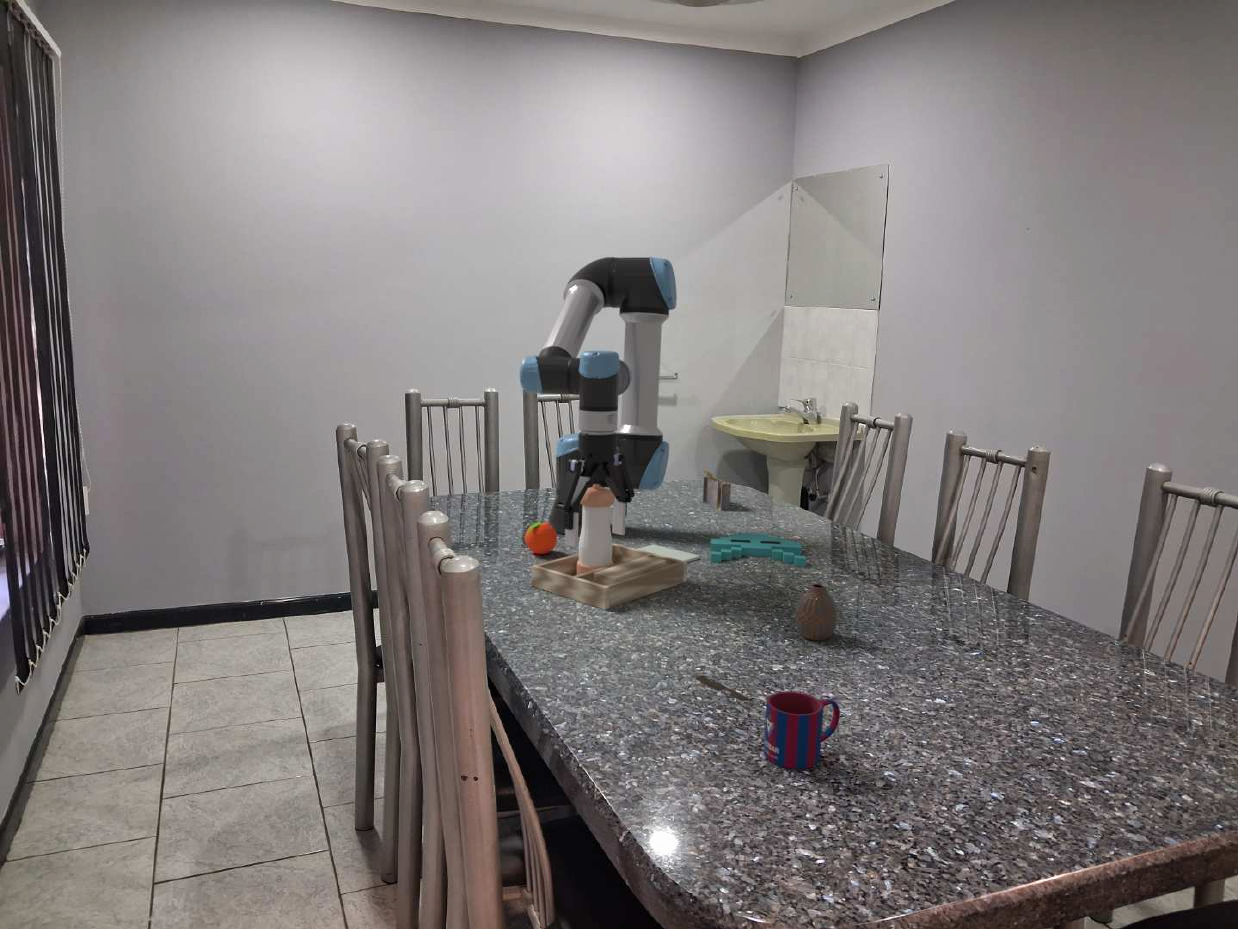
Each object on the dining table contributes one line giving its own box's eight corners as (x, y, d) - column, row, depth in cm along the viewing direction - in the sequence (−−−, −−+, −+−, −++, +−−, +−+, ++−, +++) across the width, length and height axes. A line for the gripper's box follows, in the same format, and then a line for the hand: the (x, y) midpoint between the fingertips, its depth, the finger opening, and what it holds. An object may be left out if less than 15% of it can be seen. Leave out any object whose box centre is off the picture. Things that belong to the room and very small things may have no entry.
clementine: (538, 560, 190) (539, 528, 188) (514, 554, 194) (514, 522, 192) (563, 553, 196) (564, 521, 195) (539, 547, 200) (540, 516, 199)
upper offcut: (593, 586, 167) (593, 573, 167) (645, 568, 179) (645, 556, 179) (614, 591, 164) (614, 578, 163) (665, 573, 176) (666, 560, 176)
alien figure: (805, 568, 190) (796, 544, 210) (806, 558, 190) (797, 535, 209) (710, 564, 192) (710, 540, 212) (711, 554, 192) (710, 531, 211)
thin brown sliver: (759, 705, 124) (760, 702, 124) (745, 709, 122) (745, 706, 122) (703, 674, 133) (703, 672, 133) (689, 678, 132) (689, 676, 132)
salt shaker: (609, 586, 173) (611, 489, 170) (572, 583, 175) (574, 486, 171) (616, 575, 180) (619, 482, 177) (581, 572, 182) (583, 479, 178)
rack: (531, 586, 172) (531, 566, 171) (614, 562, 190) (614, 543, 189) (604, 609, 160) (605, 588, 159) (686, 581, 178) (687, 561, 177)
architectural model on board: (701, 503, 251) (702, 469, 250) (711, 503, 252) (712, 469, 251) (719, 512, 241) (720, 476, 239) (729, 512, 242) (731, 476, 240)
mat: (615, 557, 193) (615, 555, 193) (653, 546, 203) (653, 544, 203) (662, 570, 185) (662, 567, 185) (699, 558, 194) (700, 555, 194)
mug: (754, 746, 111) (756, 694, 110) (824, 736, 114) (828, 685, 113) (780, 773, 105) (783, 718, 104) (854, 761, 108) (858, 708, 107)
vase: (838, 632, 152) (841, 582, 150) (834, 646, 145) (837, 594, 144) (797, 627, 154) (800, 577, 152) (791, 640, 147) (794, 589, 146)
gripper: (566, 439, 161) (564, 554, 164) (654, 428, 179) (650, 532, 183) (537, 435, 166) (536, 547, 169) (625, 425, 184) (622, 526, 188)
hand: (595, 539), depth 176 cm, fingers open, 13 cm apart
